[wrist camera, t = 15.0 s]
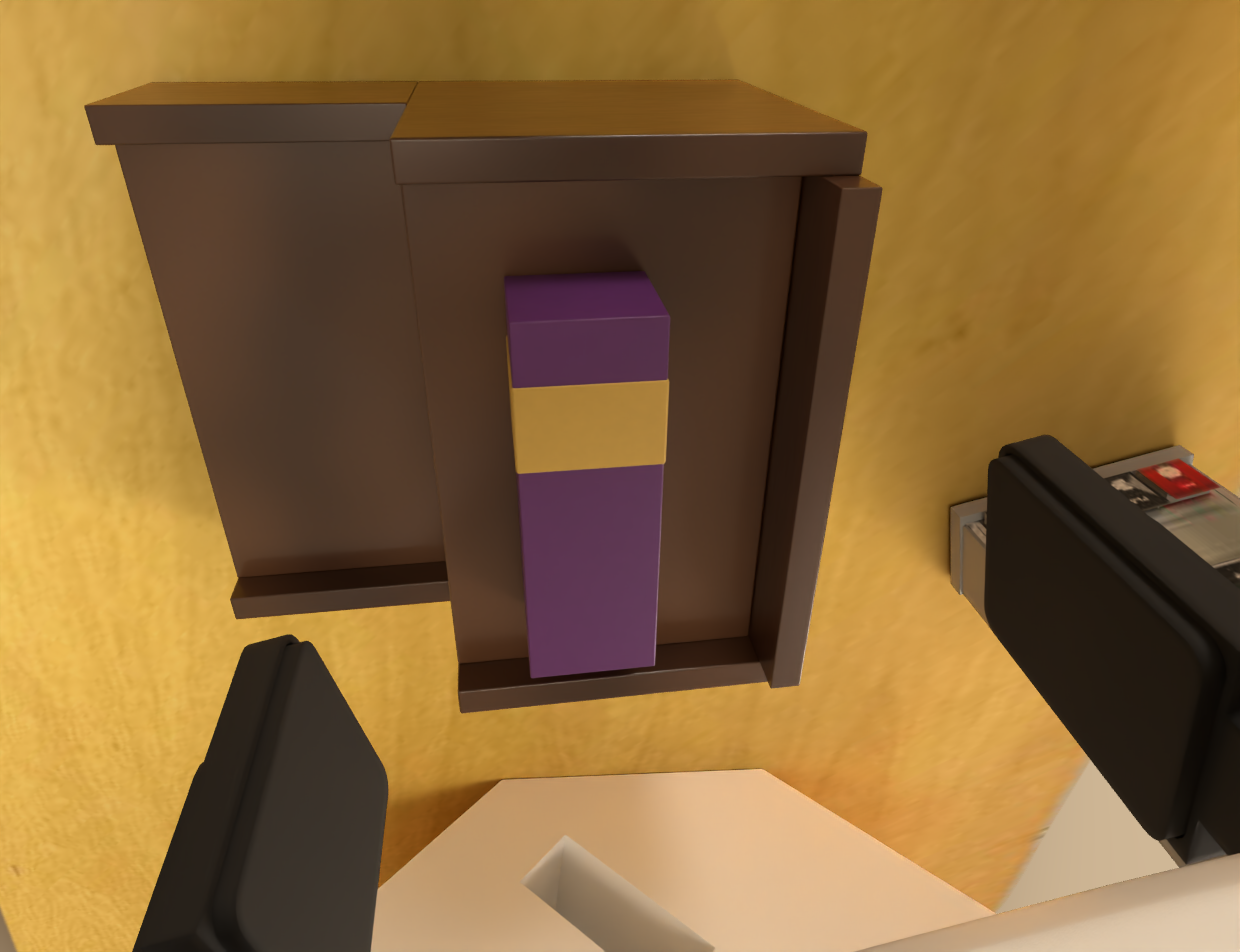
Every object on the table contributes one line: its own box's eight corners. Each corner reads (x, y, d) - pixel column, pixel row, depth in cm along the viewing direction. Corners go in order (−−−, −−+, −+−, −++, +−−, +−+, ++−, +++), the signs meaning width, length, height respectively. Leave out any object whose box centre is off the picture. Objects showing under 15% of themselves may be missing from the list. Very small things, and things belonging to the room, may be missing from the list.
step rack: (739, 79, 35) (891, 140, 22) (706, 504, 46) (796, 707, 33) (150, 82, 32) (-65, 155, 19) (266, 536, 43) (178, 775, 30)
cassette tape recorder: (1176, 438, 48) (1722, 799, 27) (1162, 522, 52) (1640, 902, 30) (948, 500, 48) (1319, 912, 27) (948, 580, 51) (1279, 1003, 30)
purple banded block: (646, 270, 26) (672, 316, 23) (637, 593, 33) (657, 667, 29) (501, 275, 26) (506, 323, 22) (523, 603, 32) (529, 680, 29)
